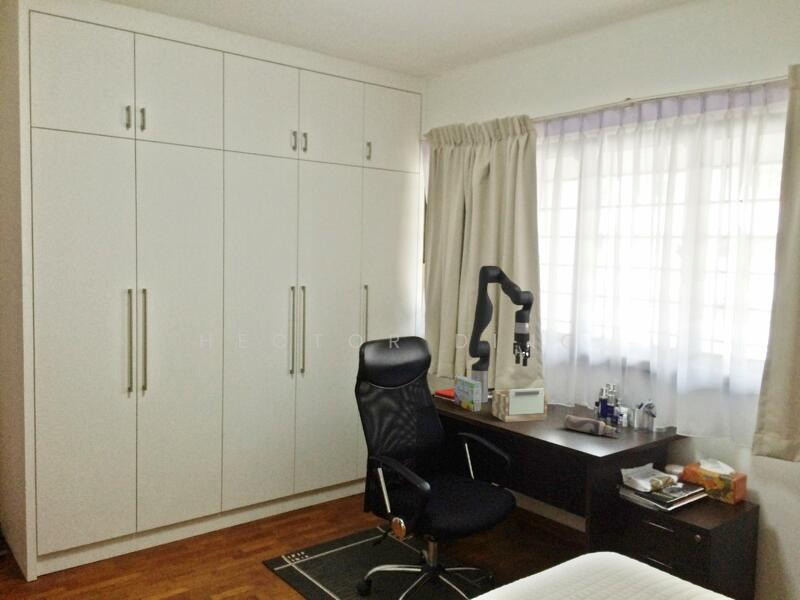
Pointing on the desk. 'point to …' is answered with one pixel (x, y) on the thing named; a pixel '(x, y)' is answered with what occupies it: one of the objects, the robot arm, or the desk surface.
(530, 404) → the white rectangular panel
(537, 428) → the desk surface
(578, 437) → the desk surface
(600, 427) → the decorative bottle
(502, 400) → the beige open box
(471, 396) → the snack box
